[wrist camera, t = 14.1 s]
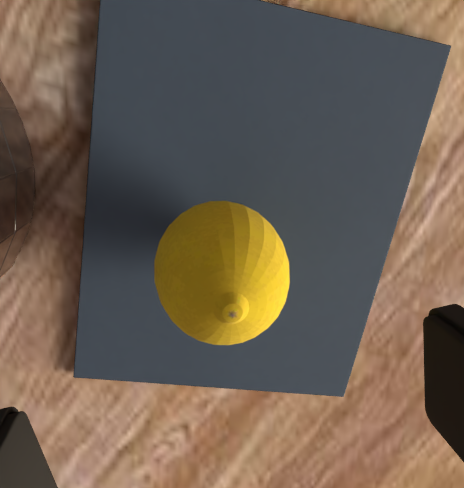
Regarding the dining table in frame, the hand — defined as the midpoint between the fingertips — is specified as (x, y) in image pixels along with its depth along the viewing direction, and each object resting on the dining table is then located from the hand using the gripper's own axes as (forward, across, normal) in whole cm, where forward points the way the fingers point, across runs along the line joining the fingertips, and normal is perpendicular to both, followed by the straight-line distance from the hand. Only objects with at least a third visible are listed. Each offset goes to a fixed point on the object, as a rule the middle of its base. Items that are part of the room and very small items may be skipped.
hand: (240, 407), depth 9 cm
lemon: (+12, -1, 0) cm, 12 cm away
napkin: (+12, -2, -1) cm, 13 cm away
